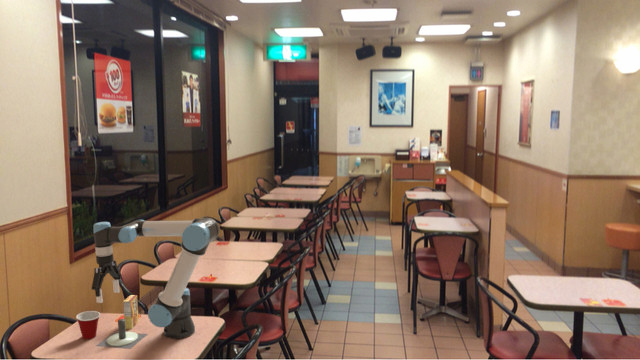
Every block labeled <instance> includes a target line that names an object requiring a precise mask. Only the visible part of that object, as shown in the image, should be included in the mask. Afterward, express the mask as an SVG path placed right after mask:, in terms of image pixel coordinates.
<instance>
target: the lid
mask: <svg viewBox="0 0 640 360" xmlns="http://www.w3.org/2000/svg"><path fill="white" fill-rule="evenodd" d="M117 327H118V329H117V330H118V331H117V332H119V333H117V334H114V335H112V336H110V335H109V336H110V337H109V336H108V337H109V338H108V339H107V344H108V345H110V346H125V345H129V344H131V343H133V342H135V341H136V340H137V339H138V335H137V334H136V333H137V332H134V331H127V329H125V319H124V318H119V319H117Z"/></svg>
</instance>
